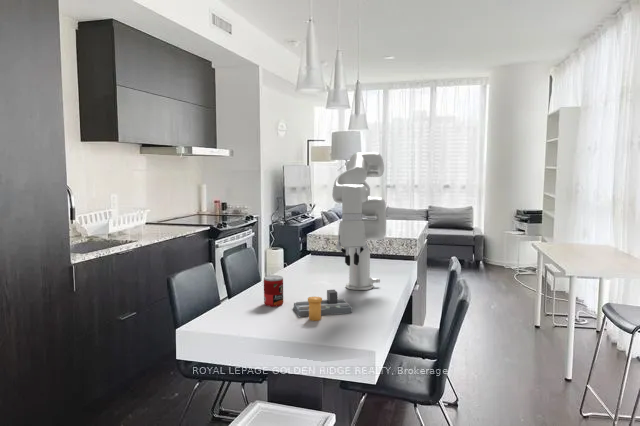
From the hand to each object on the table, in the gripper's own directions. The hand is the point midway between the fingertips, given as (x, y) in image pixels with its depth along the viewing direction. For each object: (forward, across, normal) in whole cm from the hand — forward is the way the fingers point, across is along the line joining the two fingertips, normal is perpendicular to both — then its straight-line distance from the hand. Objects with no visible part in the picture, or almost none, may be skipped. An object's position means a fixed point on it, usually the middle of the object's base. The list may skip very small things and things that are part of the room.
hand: (352, 264), depth 180 cm
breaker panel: (+17, +12, 0) cm, 21 cm away
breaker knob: (+15, +8, 0) cm, 17 cm away
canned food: (+17, +29, -13) cm, 36 cm away
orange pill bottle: (+17, +17, +10) cm, 26 cm away
